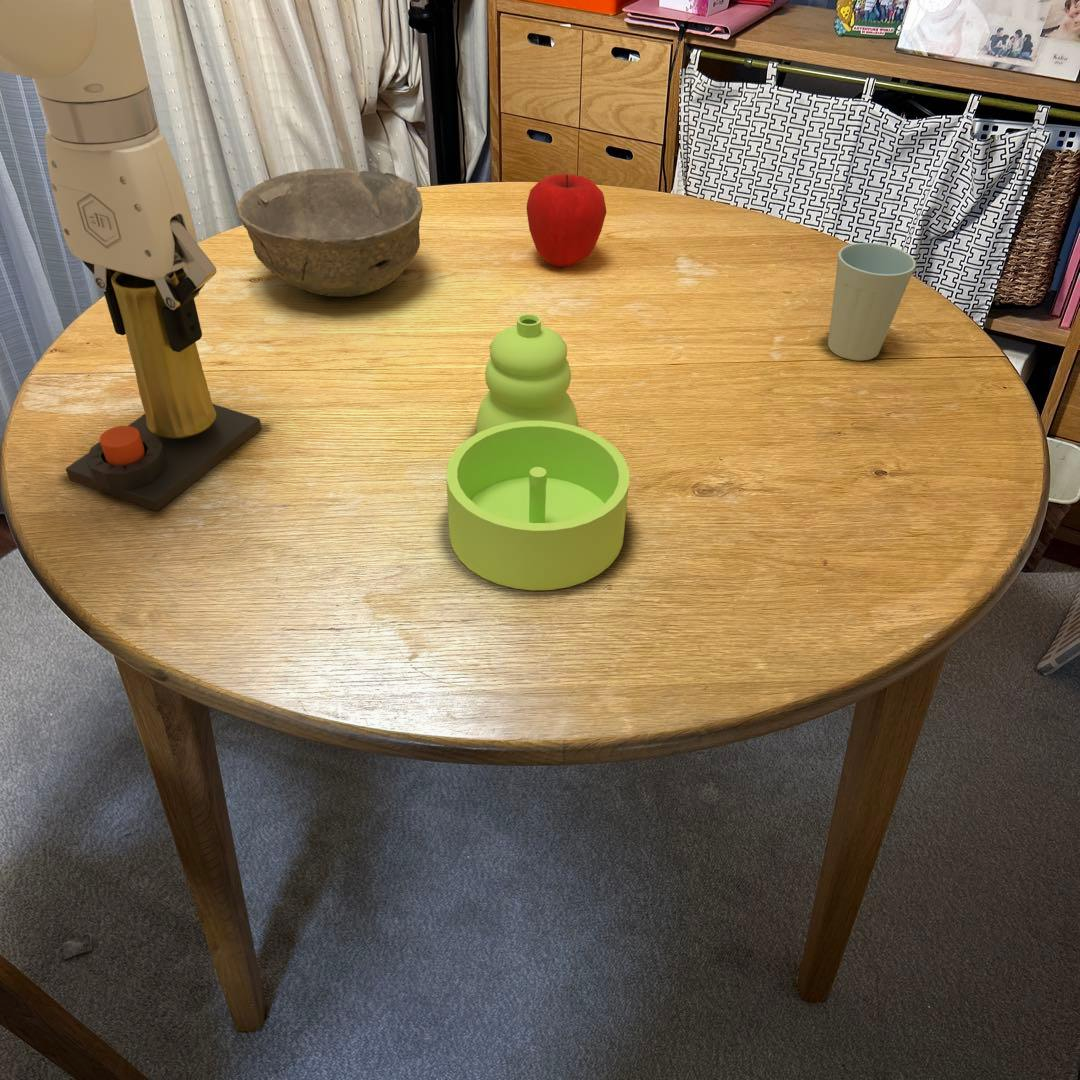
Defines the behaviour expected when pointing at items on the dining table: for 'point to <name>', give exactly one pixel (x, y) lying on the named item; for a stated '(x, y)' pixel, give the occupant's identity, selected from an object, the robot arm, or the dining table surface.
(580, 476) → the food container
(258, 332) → the dining table surface
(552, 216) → the apple
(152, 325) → the vase
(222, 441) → the button base plate
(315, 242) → the bowl
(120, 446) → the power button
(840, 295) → the cup
